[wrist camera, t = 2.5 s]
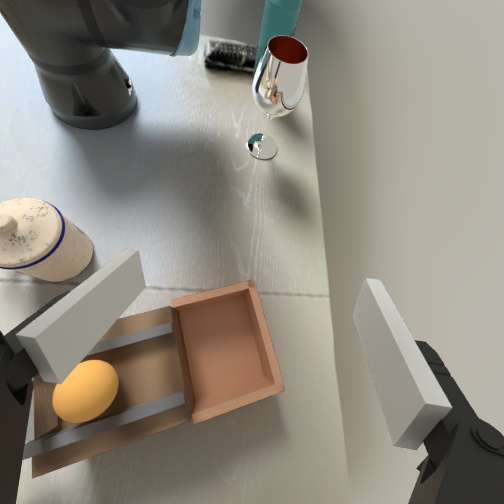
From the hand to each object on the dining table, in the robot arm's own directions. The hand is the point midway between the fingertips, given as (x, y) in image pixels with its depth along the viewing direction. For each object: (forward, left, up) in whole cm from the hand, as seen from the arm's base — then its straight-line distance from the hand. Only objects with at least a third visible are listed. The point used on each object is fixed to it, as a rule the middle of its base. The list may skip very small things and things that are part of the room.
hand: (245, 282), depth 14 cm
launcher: (-6, -13, -25) cm, 29 cm away
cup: (+2, -3, -25) cm, 25 cm away
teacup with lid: (-27, -8, -25) cm, 37 cm away
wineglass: (-14, +31, -25) cm, 42 cm away
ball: (-6, -14, -13) cm, 20 cm away
